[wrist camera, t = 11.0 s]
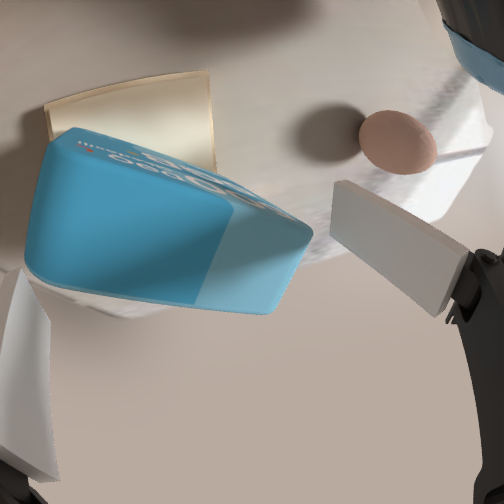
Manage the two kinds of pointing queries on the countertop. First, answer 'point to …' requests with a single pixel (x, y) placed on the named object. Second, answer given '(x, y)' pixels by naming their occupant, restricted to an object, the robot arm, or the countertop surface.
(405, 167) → the egg
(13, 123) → the countertop surface
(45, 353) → the robot arm
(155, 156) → the blue box
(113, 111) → the stand
